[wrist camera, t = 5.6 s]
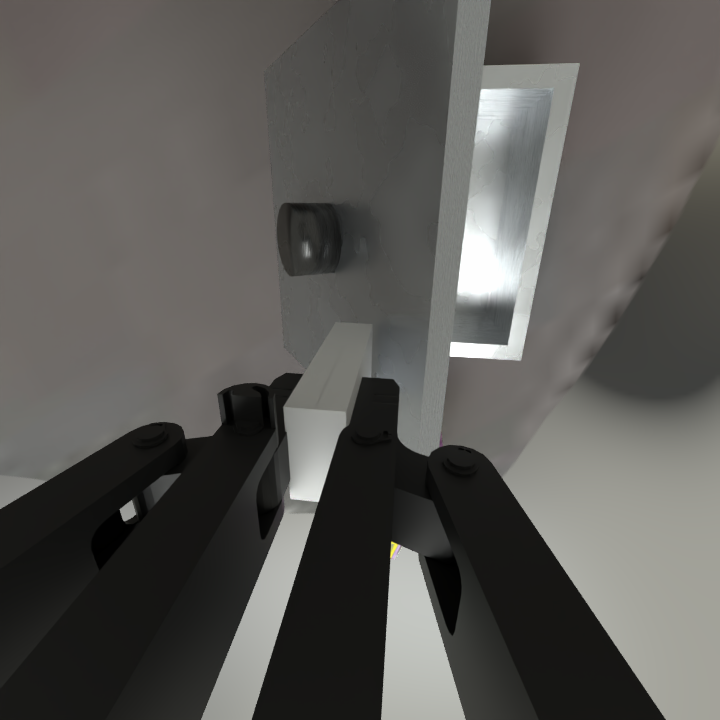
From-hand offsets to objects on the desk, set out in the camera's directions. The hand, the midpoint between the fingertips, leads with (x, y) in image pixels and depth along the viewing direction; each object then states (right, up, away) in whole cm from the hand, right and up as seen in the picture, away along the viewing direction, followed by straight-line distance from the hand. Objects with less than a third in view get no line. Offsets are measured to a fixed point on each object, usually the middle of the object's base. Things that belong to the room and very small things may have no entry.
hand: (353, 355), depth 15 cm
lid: (0, +5, +2) cm, 6 cm away
